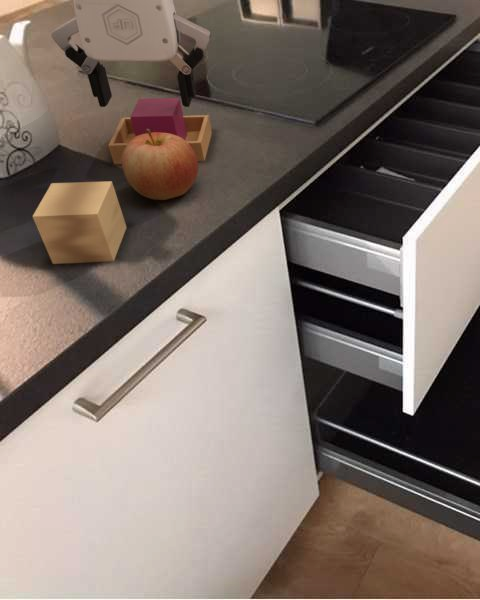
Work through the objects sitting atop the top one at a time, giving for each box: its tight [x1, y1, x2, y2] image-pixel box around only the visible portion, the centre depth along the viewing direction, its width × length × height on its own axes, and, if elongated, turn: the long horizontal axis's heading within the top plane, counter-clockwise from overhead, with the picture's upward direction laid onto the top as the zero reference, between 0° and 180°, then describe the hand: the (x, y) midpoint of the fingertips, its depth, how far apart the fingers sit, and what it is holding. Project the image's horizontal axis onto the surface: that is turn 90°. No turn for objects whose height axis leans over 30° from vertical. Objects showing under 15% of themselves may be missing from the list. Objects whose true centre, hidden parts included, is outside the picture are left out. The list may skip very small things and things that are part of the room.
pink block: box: [129, 97, 187, 140], centre depth 82 cm, size 5×5×5 cm
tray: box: [107, 114, 213, 165], centre depth 83 cm, size 11×8×3 cm
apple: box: [121, 129, 199, 201], centre depth 74 cm, size 8×8×8 cm
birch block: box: [32, 180, 127, 265], centre depth 67 cm, size 6×6×6 cm
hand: (147, 102), depth 80 cm, fingers open, 9 cm apart
